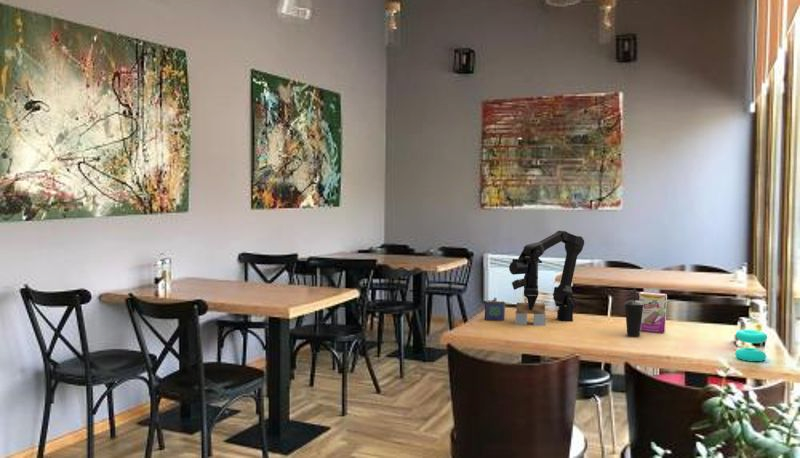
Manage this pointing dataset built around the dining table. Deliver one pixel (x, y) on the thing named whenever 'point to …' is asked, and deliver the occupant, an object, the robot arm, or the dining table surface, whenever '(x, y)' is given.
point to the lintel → (537, 309)
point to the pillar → (539, 319)
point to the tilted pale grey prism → (521, 318)
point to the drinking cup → (633, 316)
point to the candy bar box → (653, 312)
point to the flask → (494, 310)
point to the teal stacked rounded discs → (751, 337)
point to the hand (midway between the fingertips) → (530, 308)
